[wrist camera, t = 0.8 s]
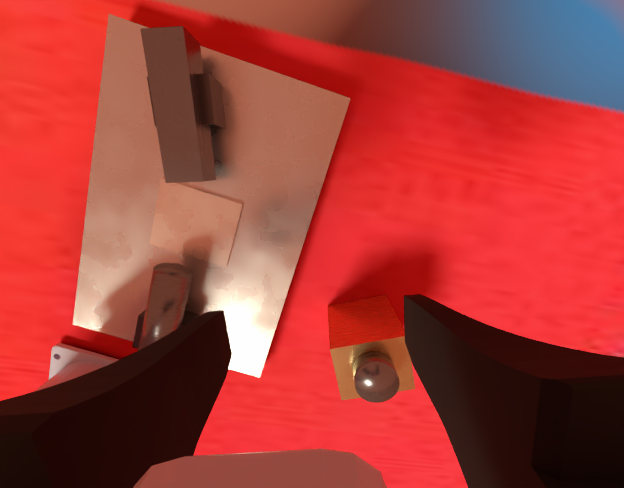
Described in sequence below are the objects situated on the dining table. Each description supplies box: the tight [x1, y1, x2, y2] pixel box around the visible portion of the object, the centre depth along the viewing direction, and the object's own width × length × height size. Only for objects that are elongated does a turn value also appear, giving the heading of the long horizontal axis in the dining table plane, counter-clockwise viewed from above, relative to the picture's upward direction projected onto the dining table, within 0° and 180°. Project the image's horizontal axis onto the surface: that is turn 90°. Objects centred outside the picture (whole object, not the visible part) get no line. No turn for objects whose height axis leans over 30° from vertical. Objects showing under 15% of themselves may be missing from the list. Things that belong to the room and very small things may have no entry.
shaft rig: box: [73, 14, 351, 378], centre depth 18 cm, size 20×14×5 cm
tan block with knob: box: [328, 295, 415, 402], centre depth 19 cm, size 4×4×7 cm
